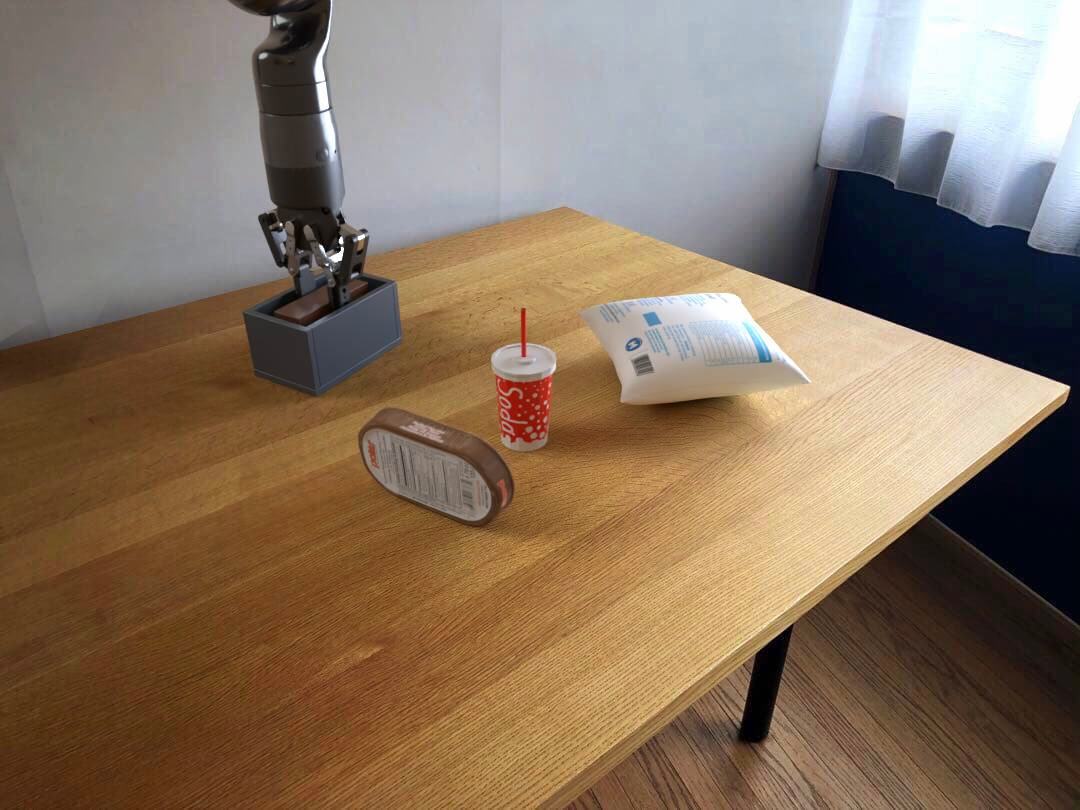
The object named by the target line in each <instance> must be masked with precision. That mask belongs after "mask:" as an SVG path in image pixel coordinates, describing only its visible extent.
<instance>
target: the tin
mask: <svg viewBox="0 0 1080 810" xmlns="http://www.w3.org/2000/svg"><path fill="white" fill-rule="evenodd" d="M357 441H358V449H359V453H360V456H361V459H362V463H363V466H364V468H365V470H366V471H367V472H368V474H369V475H370V476H371V477H372V479H373V480H374V481H375V482H376V483H377V484H378V485H379V486H381V488H383V489H384V490H385V491H387V492H388V493H390V494H391V495H393V496H395V497H398V498H400V499H402V500H405V501H407V502H410V503H412V504H415V505H417V506H419V507H422V508H424V509H426V510H429V511H431V512H434V513H437V514H439V515H441V516H444V517H446V518H448V519H451V520H453V521H456V522H458V523H461V524H464V525H468V526H473V527H475V526H476V527H480V526H484V525H487V524H490V523H491V522H492V521H493V520H495V519H496V518H497V517H498V516H499V515H500V514H501V513H502V512H503V510H505V509H506V508H508V507H509V506H510V504H511V503H512V502H513V501H514V497H515V491H516V485H515V484H516V483H515V479H514V476H513V472H512V470H511V468H510V466H509V464H508V463H507V461H506V460H505V458H504V456H503V455H502V454H501V453H500V452H499V451H498V450H497V449H496V448H495V447H494V446H493V445H492V444H491V443H490V442H488V441H487V440H486V439H484V438H483V437H481V436H479V435H477V434H476V433H473V432H470V431H469V430H465V429H461V428H459V427H456V426H454V425H451V424H448V423H445V422H442V421H438V420H436V419H434V418H431V417H429V416H425V415H422V414H419V413H416V412H414V411H411V410H408V409H406V408H402V407H399V406H386V407H383V408H381V409H380V410H378V411H377V412H376V413H375V415H374V416H373V417H372V418H370V419H368V421H367V422H365V424H364V425H363V426H362V427H361V428H360V430H359V432H358V434H357Z"/></svg>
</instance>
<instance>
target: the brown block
mask: <svg viewBox="0 0 1080 810" xmlns="http://www.w3.org/2000/svg"><path fill="white" fill-rule="evenodd" d="M327 286H328V284H327V285H325V286H323V287H321V288H319V289H317V290H315V291H313V292H312V293H310V294H308V295H306V296H304V297H302V298H300V299H298V300H296V301H294V302H292V303H290V304H288V305H286V306H284V307H282V308H280V309H278V310H276V311H274V314H275V318H278V319H282V320H285V321H288V322H291V323H295V324H298V325H301V326H304V327H307V326H309V325H310V324H312V323H314V322H316V321H318V320H320V319H321V318H323V317H325V316H327V315H329V314H330V307H329V300H328V293H327ZM348 288H349V297H350V303H351V302H353V301H354V300H356V299H358V298H360V297H362V296H364V295H365V294H367V293H368V284H367V282H364V281H361V280H357V279H356V280H354V281H352V282H350V283H348Z"/></svg>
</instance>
